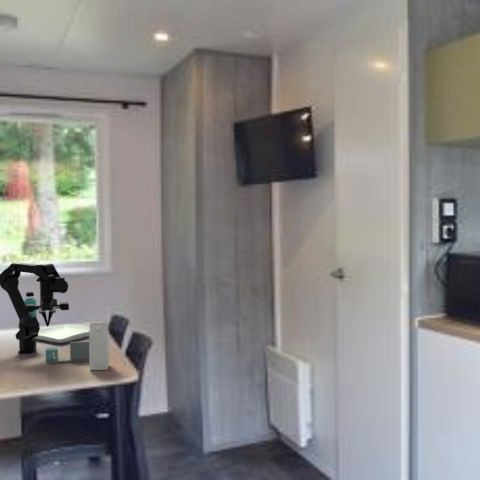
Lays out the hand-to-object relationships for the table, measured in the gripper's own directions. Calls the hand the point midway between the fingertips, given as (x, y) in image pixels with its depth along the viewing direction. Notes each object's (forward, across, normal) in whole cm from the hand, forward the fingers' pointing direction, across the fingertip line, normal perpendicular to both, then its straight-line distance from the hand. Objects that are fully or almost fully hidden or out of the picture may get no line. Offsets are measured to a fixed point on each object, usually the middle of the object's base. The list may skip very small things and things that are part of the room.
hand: (47, 326), depth 269 cm
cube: (+13, +2, -9) cm, 16 cm away
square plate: (+14, +7, +35) cm, 38 cm away
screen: (+12, +15, -15) cm, 24 cm away
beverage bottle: (+13, -9, +61) cm, 63 cm away
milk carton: (+13, +20, -29) cm, 38 cm away
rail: (+13, +11, -15) cm, 23 cm away
